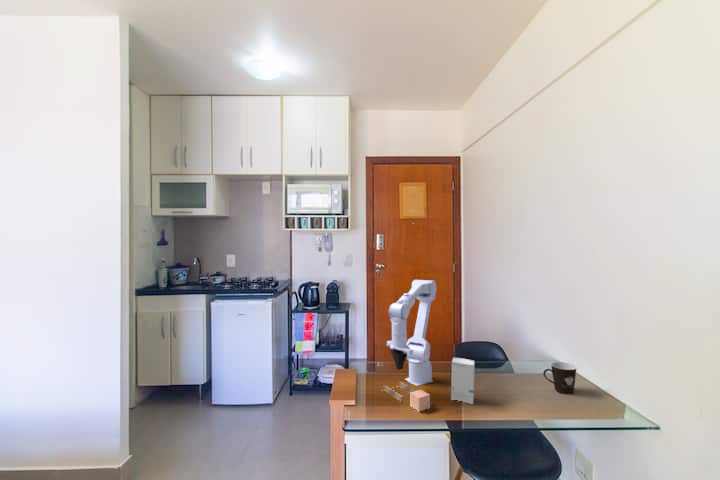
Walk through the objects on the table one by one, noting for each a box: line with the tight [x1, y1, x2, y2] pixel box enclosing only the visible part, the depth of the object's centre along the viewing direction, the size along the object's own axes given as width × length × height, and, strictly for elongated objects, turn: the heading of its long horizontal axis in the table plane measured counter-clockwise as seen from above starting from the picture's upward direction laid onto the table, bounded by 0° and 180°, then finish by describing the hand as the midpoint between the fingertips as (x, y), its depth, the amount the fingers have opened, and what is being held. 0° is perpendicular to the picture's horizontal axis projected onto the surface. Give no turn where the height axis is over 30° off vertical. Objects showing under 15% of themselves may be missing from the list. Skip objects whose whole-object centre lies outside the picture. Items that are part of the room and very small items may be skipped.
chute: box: [382, 380, 417, 403], centre depth 129 cm, size 12×8×2 cm
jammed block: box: [410, 389, 431, 413], centre depth 119 cm, size 5×5×5 cm
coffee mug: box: [543, 361, 577, 395], centre depth 132 cm, size 12×9×10 cm
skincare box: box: [450, 357, 476, 405], centre depth 125 cm, size 8×6×15 cm
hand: (399, 368), depth 129 cm, fingers closed
